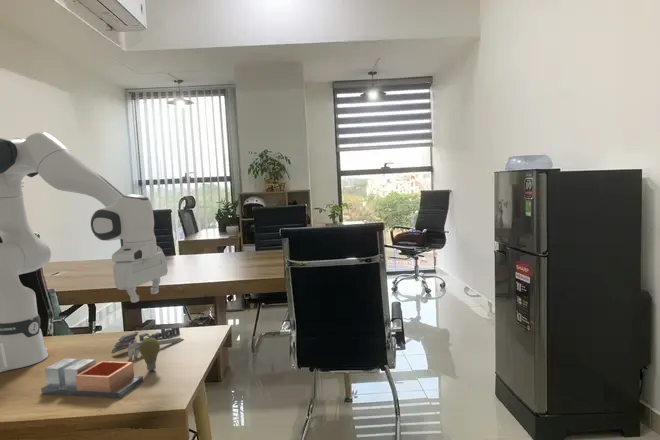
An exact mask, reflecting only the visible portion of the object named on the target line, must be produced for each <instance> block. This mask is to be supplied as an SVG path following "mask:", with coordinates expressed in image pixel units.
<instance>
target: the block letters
mask: <svg viewBox="0 0 660 440" xmlns="http://www.w3.org/2000/svg"><path fill="white" fill-rule="evenodd" d="M160 330H161V331H160V332H155V333H151V335H150V334H149V333H147V332H144V333H142V334H139V332H138V331H134V332H132V333H130V334H125V335H122V336H121V337H119V339H118V341H117V342H116V343H115V344H114V346H113V348H112V350H111V354H116V353H117V352H121V351H123V350H128V346H129V343H131V340H133V341H134V339H136V337H137V336H139V342H141V341H143V340H144V339H146V338H150V337H151V338H155V339H156V340H164V339H168V338H171V337H172V338H173V336H176V335H180V334H181V333H180V332H181V331H180V327H179V326H173V327H171V328H165V327H161V328H160ZM138 334H139V335H138Z"/></svg>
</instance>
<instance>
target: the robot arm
mask: <svg viewBox="0 0 660 440" xmlns="http://www.w3.org/2000/svg"><path fill="white" fill-rule="evenodd" d="M38 175H39V176H40V177H41V178H42V180H43V181H44V182H45V183H47V185H50V186H51V187H52V188H54V189H56V190H58V191H62V192H69V193H76V194H81V195H85V196H89V197H92V198H93V199H96V200H97V201H99V202H100V203H101V204H102V205H103V206H104V207H103V208H100V209H98V210H95V211H94V213H93V214H92V216H91V218H90V228H91V232H92V233H93V235H94V236H95V238H97V239H98V240H99V241H100V240H101V241H107V242H110V241H116V240H117V241H118V240H122V246H121V247H120V248H119V249H118V250H116V251H115V252H114V253H112V255H111V260H112V262H113V263H114V264H113V268H112V269H113V280H114V286H115V287H116V289H117V290H119V291H120V290H123V291H125V290H126V293H127V294H128V295H129V298H130V302H131V303H137V302H140V295H139V294H137V292H136V290H137V287H138V286H140V285H143V284H146V283H148V282H151V283H152V285H151V287H150V294H151V295H156V294H158V293H159V292H160V291H159V286H160V283H161V278H162V277H164V276H167V273H168V264H167V260H166V255H165V253H164V252H163V249H162V248H161V247H160V246H159V245H157V237H156V235H155V231H154V230H155V229H154V228H155V218H154V210H153V206H152V203H151V200H150V199H149V197H148V196H146V195H142V194H137V193H136V194H132V193H131V194H130V193H129V194H128V193H127V194H123V193H122V192H121V191H120V190H119V189H117V188H116V187H115V186H114V185H113V184H112V183H110V182H109V181H108V180H107V179H106V178H104V177H103V176H102V175H100V174H98V173H97V172H96V171H94V170H93V169H92V168H90V167H89V166H87V165H86V164H85V163H84V162H82V160H80V159H79V158H78V157H77V156H76V155H75V154H74V153H73V152H72V150H70V149H69V148H68V147H67V146H65V145H64V144H63V143H62V142H61V141H59V140H58V139H57V138H55V137H54V136H53V135H51V134H49V133H47V132H43V131H40V132H39V131H38V132H34V133H31V134H30V135H28V136H27V137H26V138H22V137H4V138H3V137H0V239H1V241H2V242H0V373H3V372H6V371H9V370H10V371H11V370H15V369H21V368H24V367H28V366H32V365H35V364H37V363H40V362H42V361H44V360H45V359H47V358H48V356H49V353H48V348H47V347H46V346H45V341H44V336H43V332H42V329H41V317H40V314H39V313H38V306H37V305H38V304H37V297H36V292H35V291H34V290H33V289H32V288H29V287H27V286H25V285H24V284H23V283H22V282H21V280H20V277H19V276H20V275H23V274H29V273H32V272H36V271H38V270H39V269H41V268H43V267H45V266H47V265H48V264H49V262H50V261H51V257H52V252H51V251H52V250H51V248H50V246H49V245H48V244H47V242H46V241H44V240H42V239H40V238H39V237H38V236H37V235H36V234H35V232H34V231H33V229H32V228H31V226H30V223H29V221H28V218H27V214H26V213H27V212H26V206H25V201H24V195H23V194H24V193H23V189H22V180H23V178H24V177H26V176H27V177H29V178H34V177H36V176H38Z"/></svg>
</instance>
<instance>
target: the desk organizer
mask: <svg viewBox="0 0 660 440" xmlns="http://www.w3.org/2000/svg"><path fill="white" fill-rule="evenodd" d="M44 370H45V378H46V385H45V386H43V387H40V390H41V395H42V394H43V395H54V396H56V395H57V396H58V395H59V396H74V397H90V398H104V399H105V398H109V399H121V398H122V397H124V396H125V395H127V394H128V393H130V392H131V391H132V390H134V389H136V388H137V387H138V386H140V385H141V384H142V383H144V376H142V375H141V376H140V375H135V368H134V361H115V360H114V361H111V360H109V361H108V360H101V361H100V362H96V359H93V358H92V359H91V358H82V359H81V360H79V361H78V358H67V357H65V358H63V359H61V360H59V361H57V362H55V363H53V364H50V365H49V366H47V367H45V368H44Z"/></svg>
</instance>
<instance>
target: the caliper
mask: <svg viewBox="0 0 660 440" xmlns="http://www.w3.org/2000/svg"><path fill="white" fill-rule="evenodd" d="M157 341H158V342H159V344H160V346H161V345H162V346H163V345H169V344H174V343H175V344H177V343H180V342H181V341H185V339H184V338H181V337H174V338H173V337H172V338H171V337H170V338H166V339H164V338H163V339H162V340H157ZM141 342H142V341H141ZM141 342H140V341H137V338H135V339H134V341H133V340H131V343H129V346H128V348H127V353H128V355H127V356H128V359H129V360H133V358H135V359H136V358H138V357H139V354H140V350H139V347H140V344H141Z"/></svg>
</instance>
